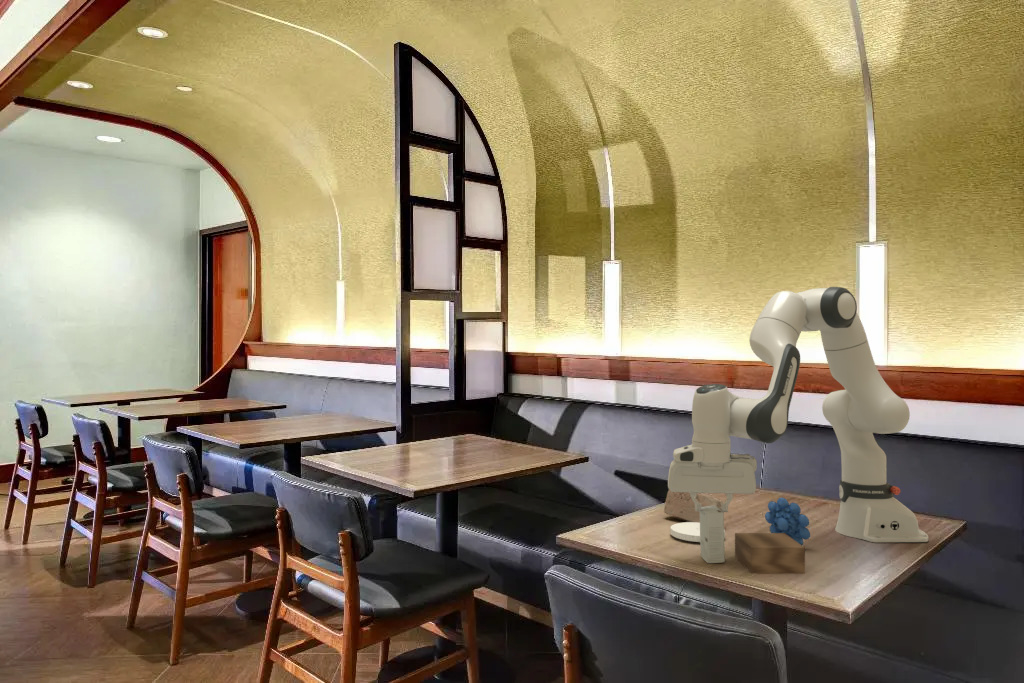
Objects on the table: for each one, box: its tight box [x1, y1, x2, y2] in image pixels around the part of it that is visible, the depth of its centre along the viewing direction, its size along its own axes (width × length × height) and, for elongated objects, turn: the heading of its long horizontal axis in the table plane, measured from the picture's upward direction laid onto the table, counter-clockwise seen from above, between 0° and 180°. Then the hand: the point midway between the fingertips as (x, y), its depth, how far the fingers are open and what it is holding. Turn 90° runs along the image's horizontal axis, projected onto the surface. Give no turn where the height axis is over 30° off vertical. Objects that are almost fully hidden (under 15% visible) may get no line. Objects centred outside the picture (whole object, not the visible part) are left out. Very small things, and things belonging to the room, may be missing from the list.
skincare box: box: [699, 506, 726, 564], centre depth 172 cm, size 6×4×12 cm
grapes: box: [764, 497, 811, 546], centre depth 183 cm, size 12×7×12 cm, turn 46°
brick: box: [663, 488, 725, 523], centre depth 205 cm, size 17×8×5 cm
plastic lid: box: [670, 521, 726, 543], centre depth 192 cm, size 14×14×2 cm
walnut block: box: [734, 532, 806, 574], centre depth 169 cm, size 12×12×6 cm
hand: (711, 511), depth 172 cm, fingers open, 5 cm apart
